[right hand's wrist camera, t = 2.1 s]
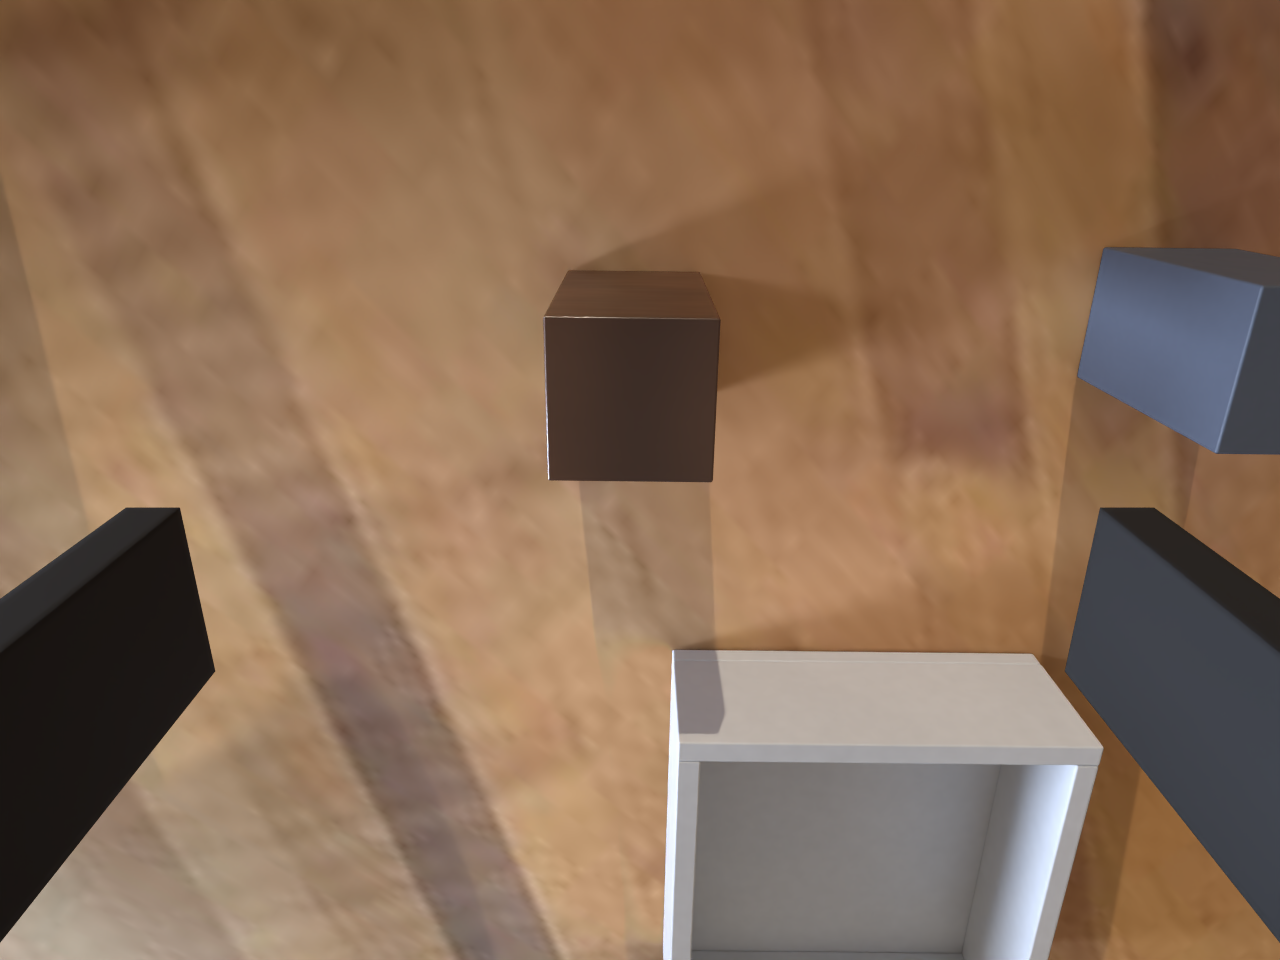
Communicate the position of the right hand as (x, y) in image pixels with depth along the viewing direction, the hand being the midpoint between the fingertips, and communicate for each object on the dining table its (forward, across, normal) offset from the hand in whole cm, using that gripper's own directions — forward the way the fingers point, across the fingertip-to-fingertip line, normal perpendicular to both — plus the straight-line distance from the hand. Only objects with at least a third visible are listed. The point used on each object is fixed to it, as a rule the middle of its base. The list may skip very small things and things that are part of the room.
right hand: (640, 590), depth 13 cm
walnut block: (+19, 0, 0) cm, 19 cm away
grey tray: (+19, +8, -28) cm, 34 cm away
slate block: (+19, +18, 0) cm, 26 cm away
